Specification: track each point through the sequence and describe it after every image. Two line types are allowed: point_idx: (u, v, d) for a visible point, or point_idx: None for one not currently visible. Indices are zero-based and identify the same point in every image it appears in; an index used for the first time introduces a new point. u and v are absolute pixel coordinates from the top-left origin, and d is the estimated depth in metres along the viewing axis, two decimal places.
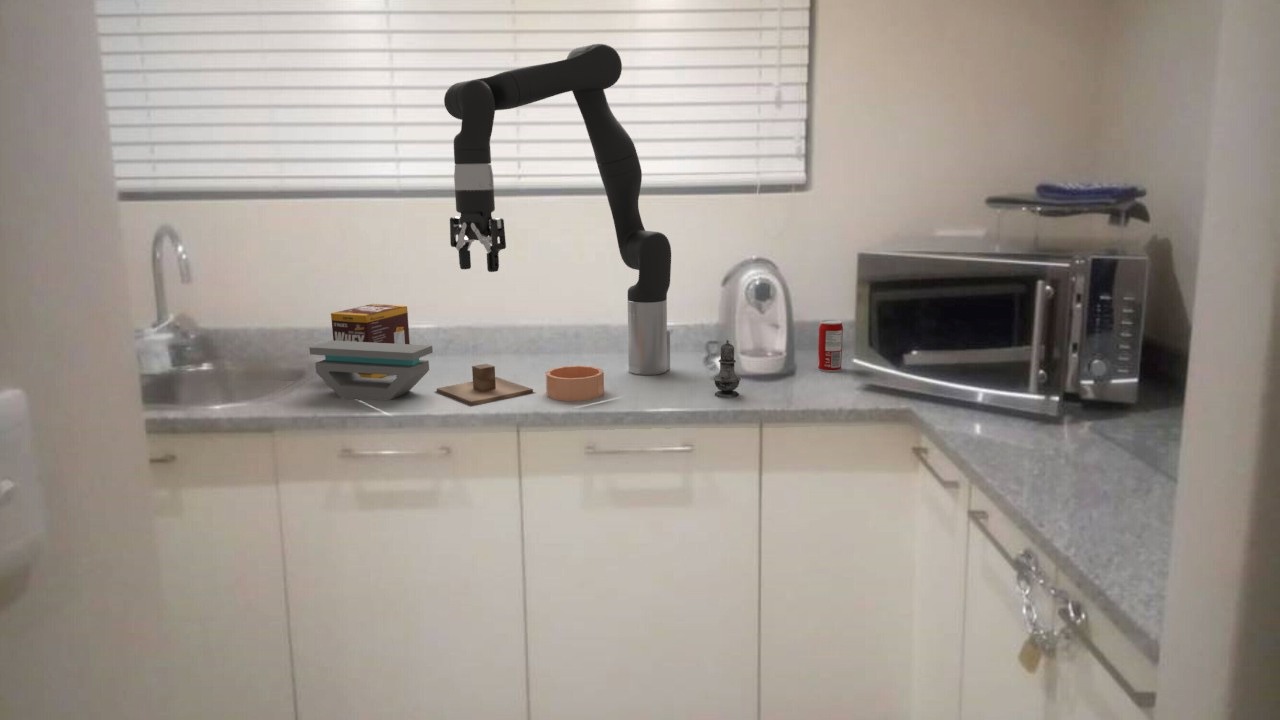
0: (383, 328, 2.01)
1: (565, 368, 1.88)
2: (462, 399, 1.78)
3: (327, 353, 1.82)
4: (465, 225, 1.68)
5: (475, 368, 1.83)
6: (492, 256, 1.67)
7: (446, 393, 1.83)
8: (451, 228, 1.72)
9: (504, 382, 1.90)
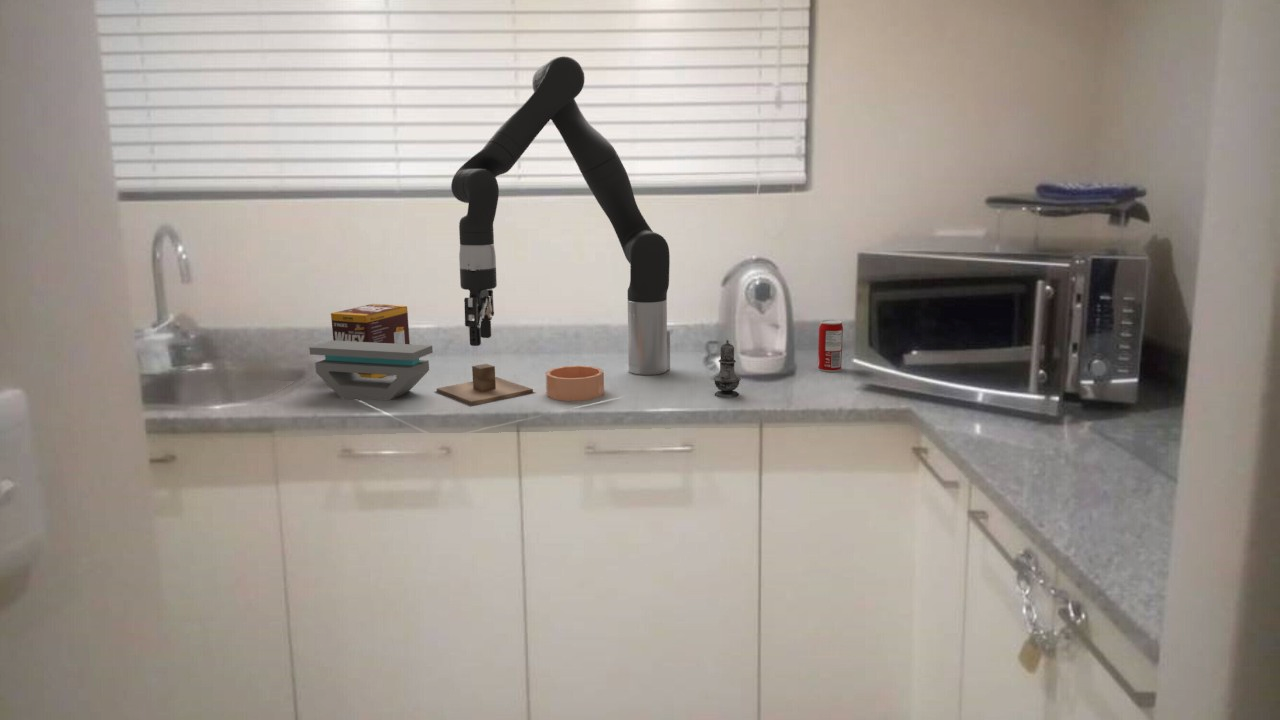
0: (383, 328, 2.01)
1: (565, 368, 1.88)
2: (462, 399, 1.78)
3: (327, 353, 1.82)
4: (487, 300, 1.80)
5: (475, 368, 1.83)
6: None
7: (446, 393, 1.83)
8: (476, 308, 1.75)
9: (504, 382, 1.90)
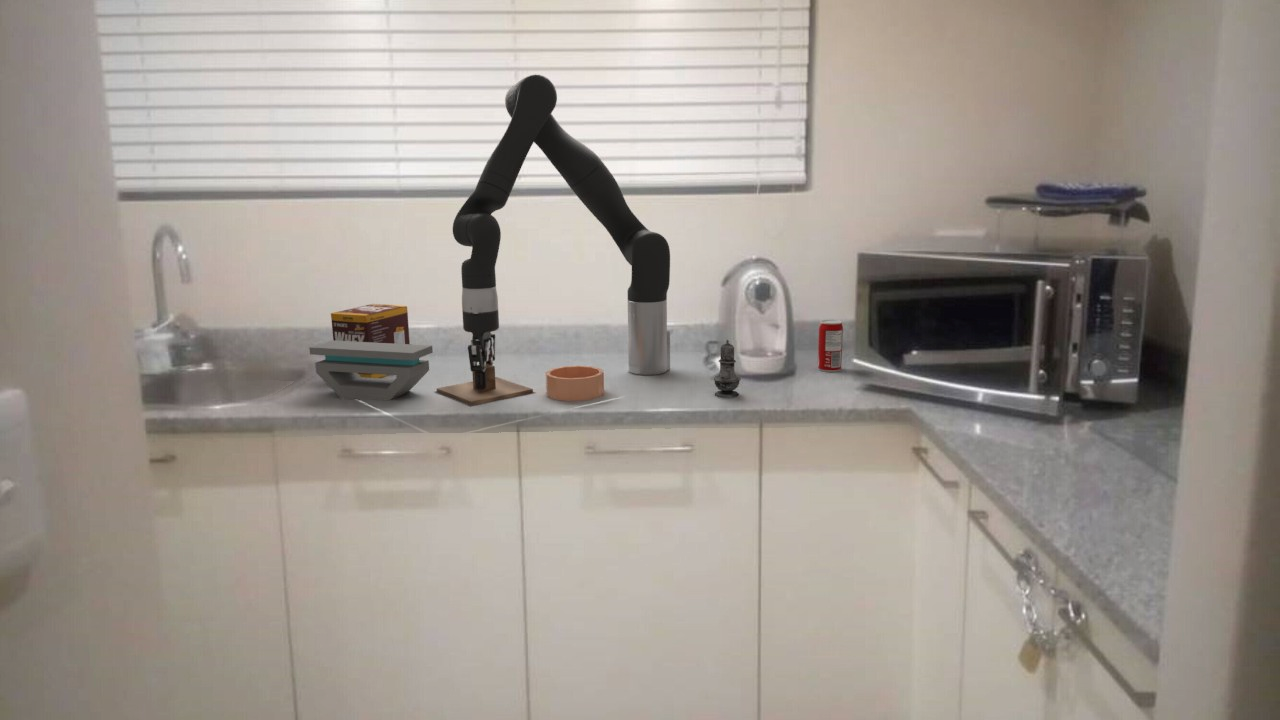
0: (383, 328, 2.01)
1: (565, 368, 1.88)
2: (462, 399, 1.78)
3: (327, 353, 1.82)
4: (489, 342, 1.82)
5: None
6: None
7: (446, 393, 1.83)
8: (480, 355, 1.77)
9: (504, 382, 1.90)
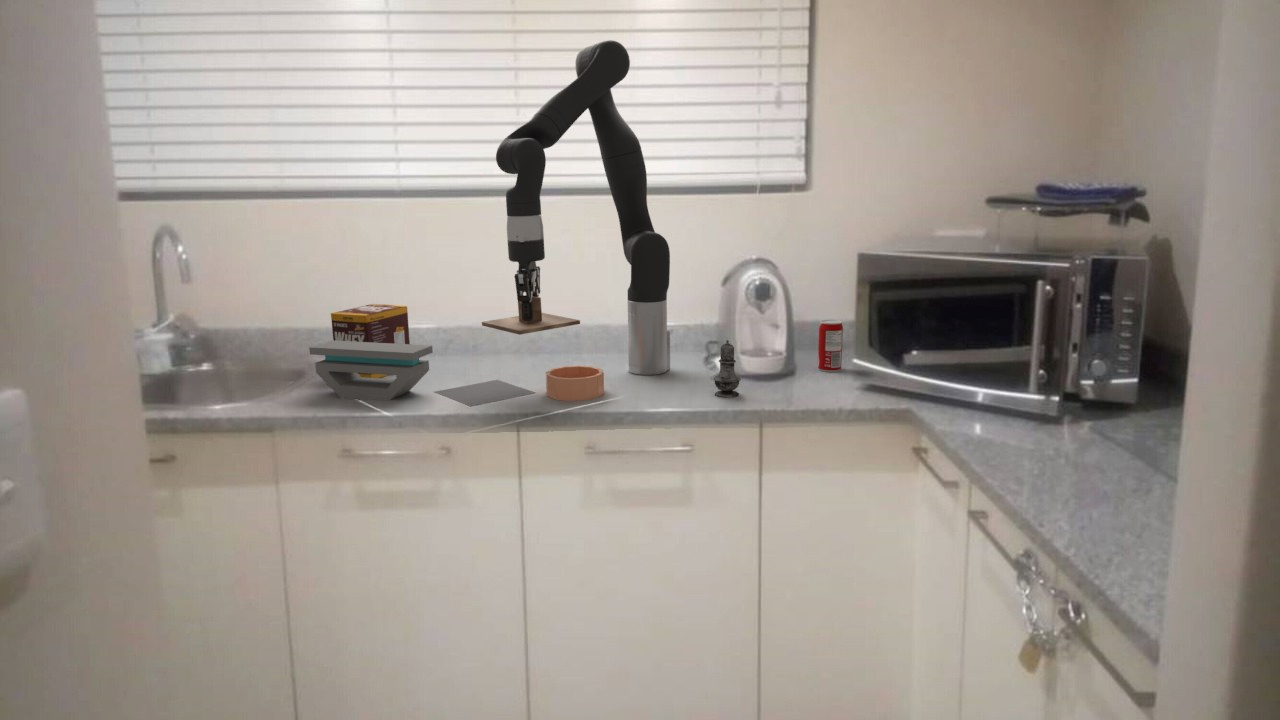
0: (383, 328, 2.01)
1: (565, 368, 1.88)
2: (509, 329, 1.74)
3: (327, 353, 1.82)
4: (535, 272, 1.78)
5: None
6: None
7: (492, 325, 1.79)
8: (527, 284, 1.74)
9: (549, 316, 1.87)
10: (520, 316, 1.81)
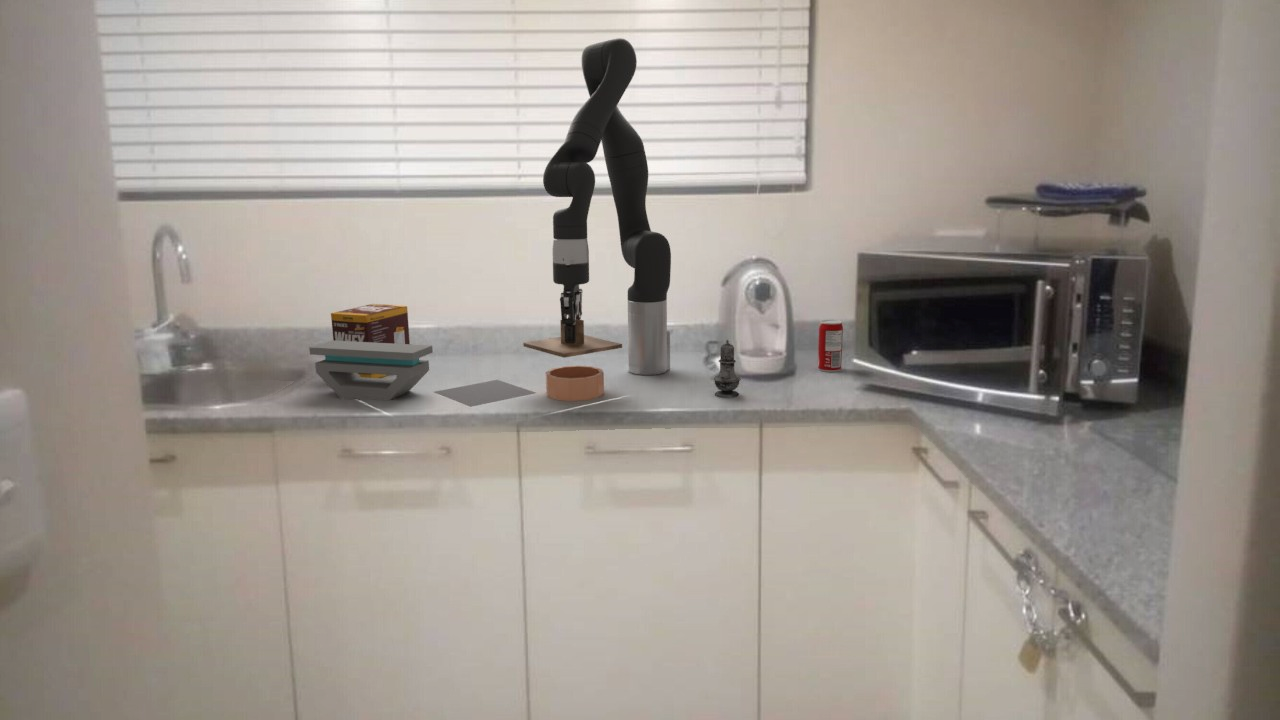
0: (383, 328, 2.01)
1: (565, 368, 1.88)
2: (553, 352, 1.74)
3: (327, 353, 1.82)
4: (579, 295, 1.78)
5: None
6: None
7: (534, 347, 1.79)
8: (572, 307, 1.74)
9: (590, 338, 1.87)
10: (562, 338, 1.81)
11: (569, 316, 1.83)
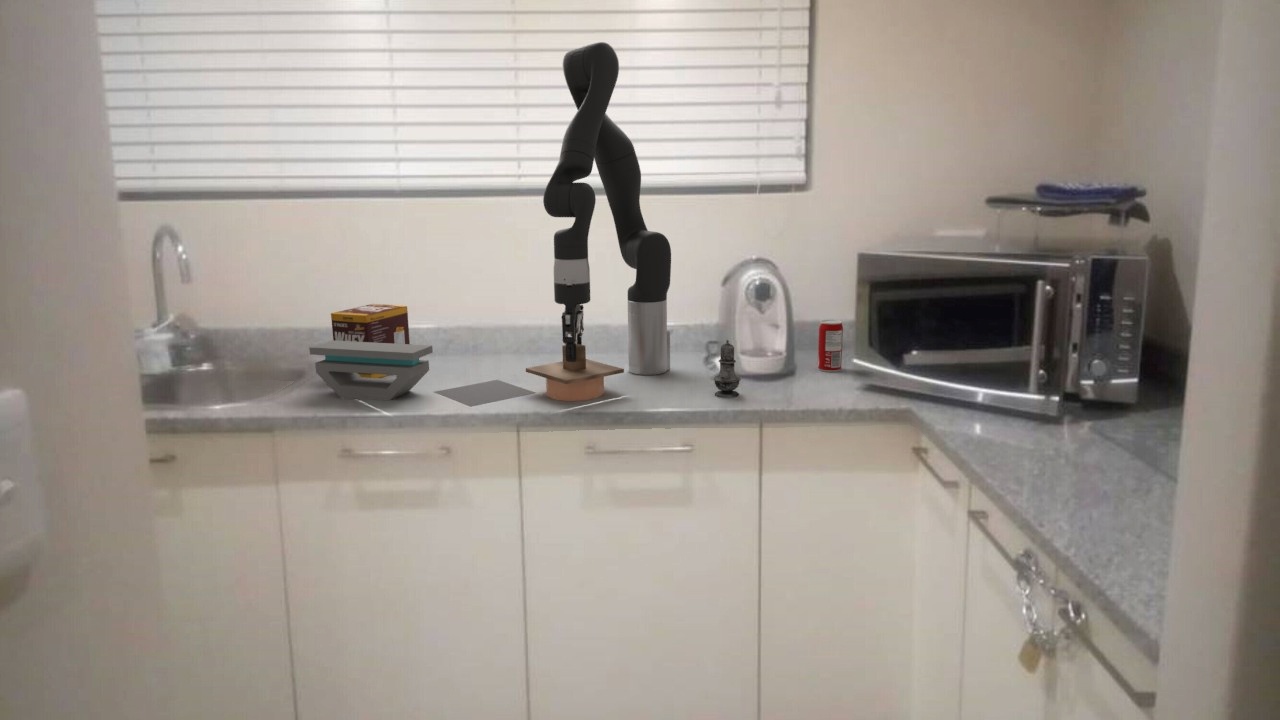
0: (383, 328, 2.01)
1: None
2: (555, 378, 1.75)
3: (327, 353, 1.82)
4: (581, 314, 1.79)
5: None
6: None
7: (537, 373, 1.80)
8: (574, 325, 1.74)
9: (592, 362, 1.88)
10: (564, 363, 1.82)
11: (571, 333, 1.84)
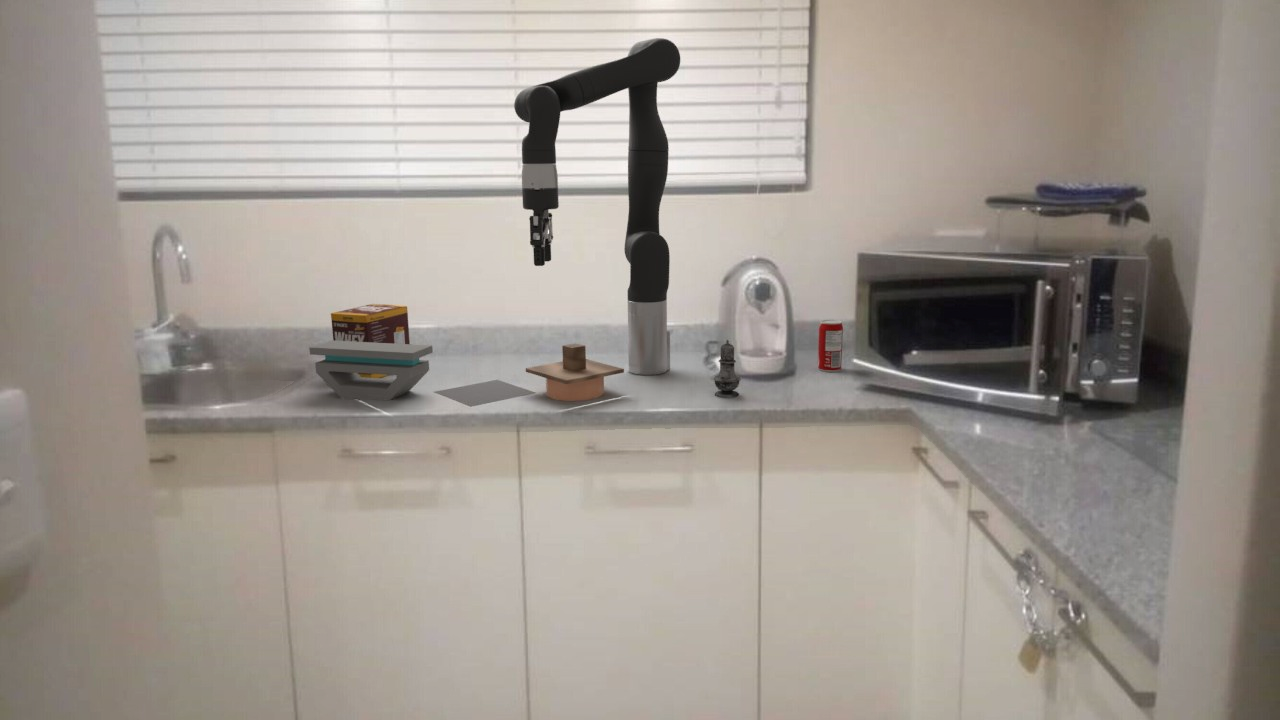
0: (383, 328, 2.01)
1: None
2: (555, 378, 1.75)
3: (327, 353, 1.82)
4: (549, 221, 1.80)
5: (566, 347, 1.81)
6: None
7: (537, 373, 1.80)
8: (542, 226, 1.75)
9: (592, 362, 1.88)
10: (564, 363, 1.82)
11: None
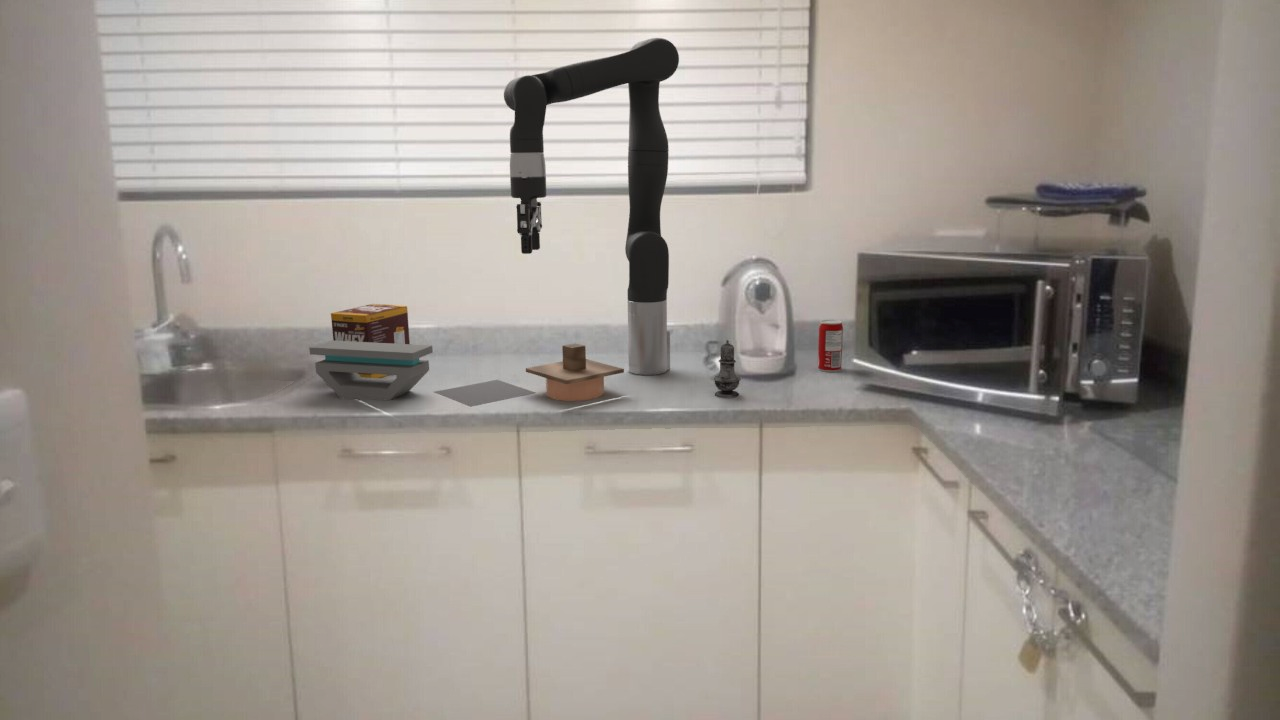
0: (383, 328, 2.01)
1: None
2: (555, 378, 1.75)
3: (327, 353, 1.82)
4: (537, 209, 1.82)
5: (566, 347, 1.81)
6: None
7: (537, 373, 1.80)
8: (528, 215, 1.77)
9: (592, 362, 1.88)
10: (564, 363, 1.82)
11: None
